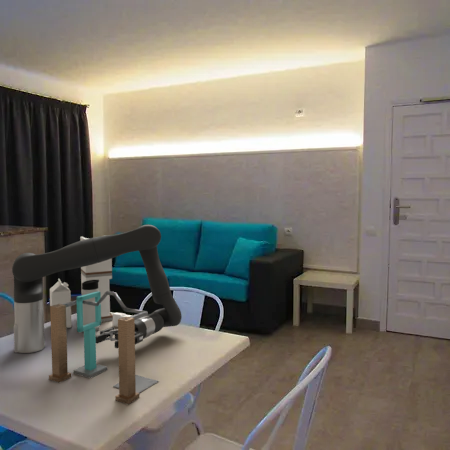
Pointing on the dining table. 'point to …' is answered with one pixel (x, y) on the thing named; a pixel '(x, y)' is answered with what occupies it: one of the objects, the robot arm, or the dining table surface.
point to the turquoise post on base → (89, 338)
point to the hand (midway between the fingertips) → (105, 342)
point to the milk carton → (61, 298)
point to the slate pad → (141, 383)
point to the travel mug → (90, 309)
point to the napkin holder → (118, 317)
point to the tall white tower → (100, 282)
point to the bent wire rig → (124, 347)
